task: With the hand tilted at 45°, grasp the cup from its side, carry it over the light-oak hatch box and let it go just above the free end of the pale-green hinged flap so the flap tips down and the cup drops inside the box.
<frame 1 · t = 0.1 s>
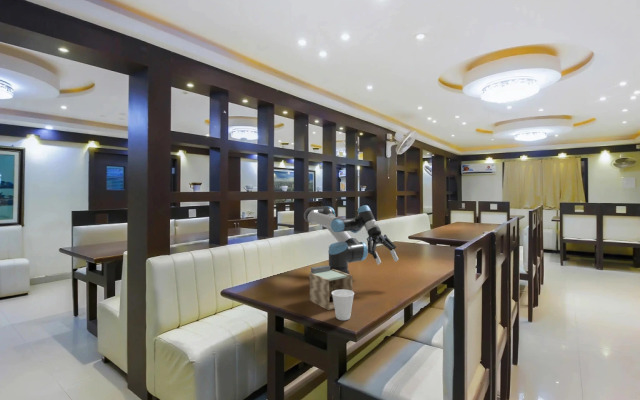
hand: (388, 262, 176), 15 cm above the table, tool tilted 35°, fingers open, 13 cm apart
cup: (343, 318, 137), on the table
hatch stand: (330, 302, 156), on the table
flap: (327, 272, 158), point 14 cm above the table, hinge at 0.0°
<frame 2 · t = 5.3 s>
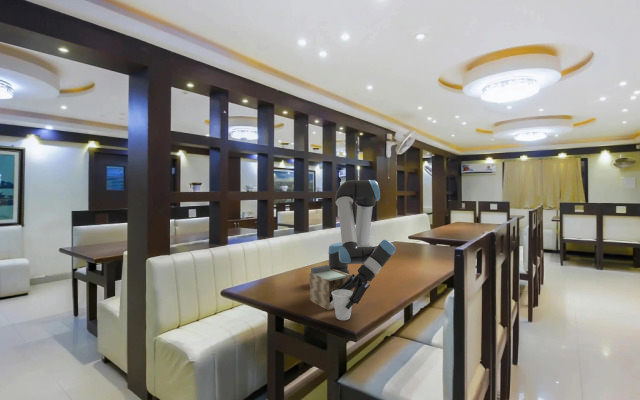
hand: (336, 309, 136), 4 cm above the table, tool tilted 45°, fingers closed on cup, 9 cm apart
cup: (343, 318, 137), on the table, touching gripper
everything else where it was.
when the fingers open (20 cm above the table, at t = 9.7 s): cup drops 4 cm, resting on flap.
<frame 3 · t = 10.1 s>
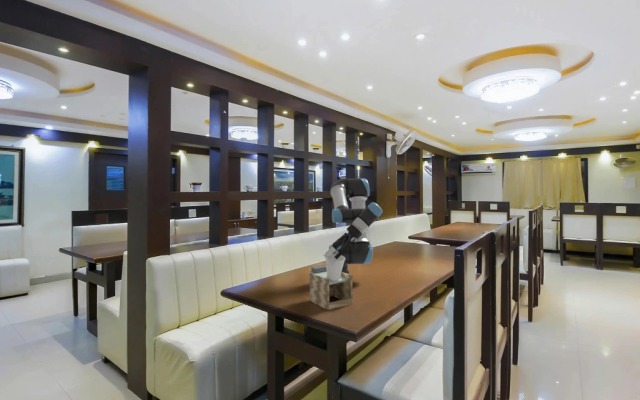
hand: (327, 260, 154), 21 cm above the table, tool tilted 45°, fingers open, 13 cm apart
cup: (333, 279, 155), point 12 cm above the table, touching flap, gripper
flap: (327, 274, 158), point 14 cm above the table, hinge at -10.1°, touching cup
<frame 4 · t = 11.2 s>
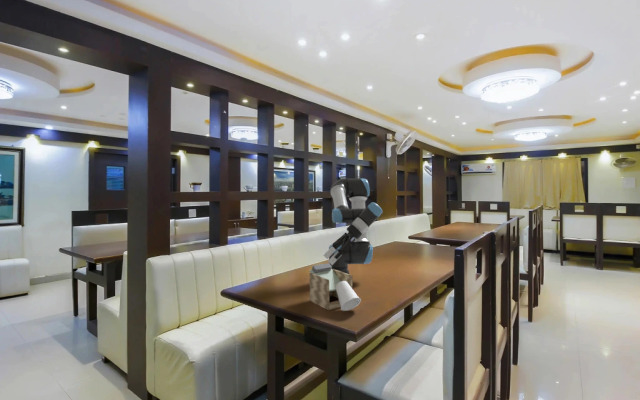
hand: (327, 260, 154), 21 cm above the table, tool tilted 45°, fingers open, 13 cm apart
cup: (340, 284, 150), point 11 cm above the table
flap: (327, 277, 158), point 12 cm above the table, hinge at -31.5°
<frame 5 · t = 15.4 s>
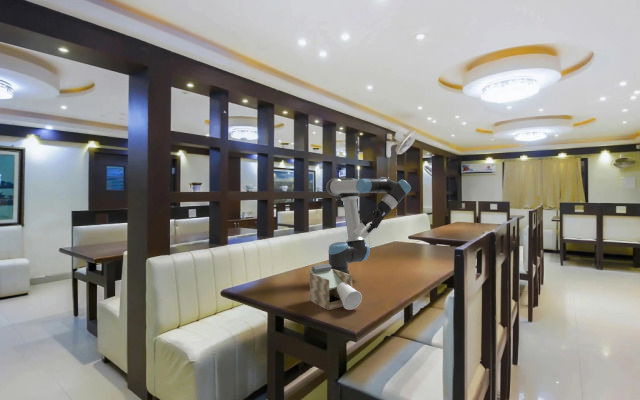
hand: (358, 235, 161), 33 cm above the table, tool tilted 45°, fingers open, 13 cm apart
cup: (341, 287, 154), point 8 cm above the table, touching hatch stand
flap: (327, 276, 158), point 12 cm above the table, hinge at -25.1°
at the end: cup point 8.0 cm above the table; cup 5.7 cm from the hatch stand (horizontally); the gripper is holding nothing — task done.
